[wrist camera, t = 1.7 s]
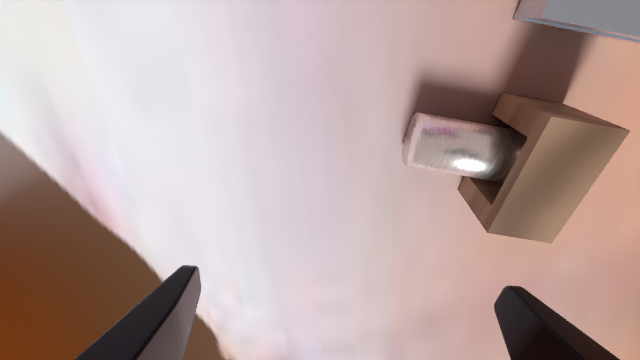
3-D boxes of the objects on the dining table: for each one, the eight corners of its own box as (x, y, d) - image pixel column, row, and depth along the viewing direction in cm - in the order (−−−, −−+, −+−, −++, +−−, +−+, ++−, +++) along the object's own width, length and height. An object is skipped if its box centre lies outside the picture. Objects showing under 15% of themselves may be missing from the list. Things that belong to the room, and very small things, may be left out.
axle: (544, 130, 20) (581, 147, 17) (521, 175, 22) (552, 199, 19) (413, 107, 20) (428, 120, 17) (398, 154, 21) (409, 174, 18)
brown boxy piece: (563, 103, 19) (630, 130, 15) (509, 198, 23) (551, 243, 18) (501, 92, 19) (551, 116, 15) (457, 189, 22) (487, 232, 18)
